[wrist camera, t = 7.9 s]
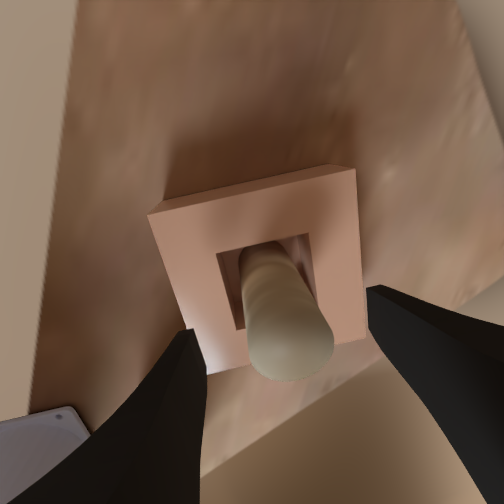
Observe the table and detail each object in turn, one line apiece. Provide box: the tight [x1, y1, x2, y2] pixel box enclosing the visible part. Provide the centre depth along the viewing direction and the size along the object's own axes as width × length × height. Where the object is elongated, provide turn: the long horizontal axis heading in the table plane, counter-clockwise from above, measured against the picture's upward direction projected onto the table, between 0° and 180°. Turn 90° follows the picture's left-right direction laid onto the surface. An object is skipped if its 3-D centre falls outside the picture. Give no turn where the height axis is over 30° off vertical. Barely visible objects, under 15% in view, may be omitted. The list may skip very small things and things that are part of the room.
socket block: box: [147, 164, 366, 375], centre depth 17 cm, size 10×10×4 cm
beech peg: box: [238, 240, 334, 382], centre depth 14 cm, size 3×3×8 cm
